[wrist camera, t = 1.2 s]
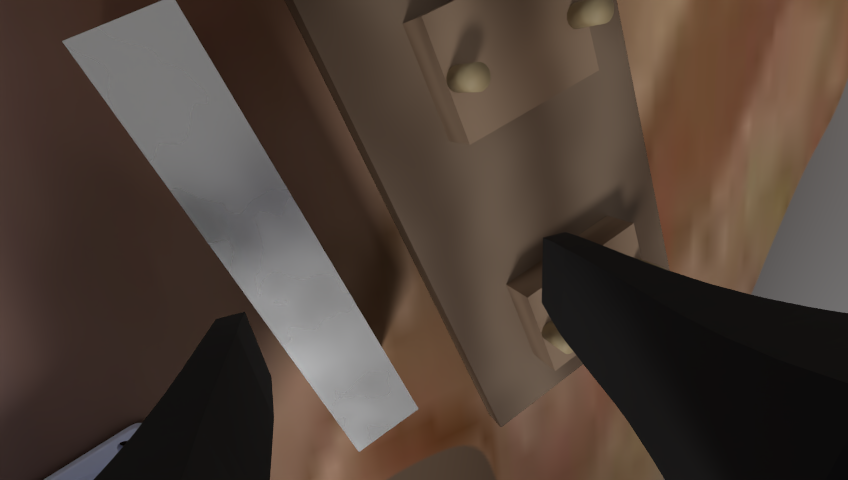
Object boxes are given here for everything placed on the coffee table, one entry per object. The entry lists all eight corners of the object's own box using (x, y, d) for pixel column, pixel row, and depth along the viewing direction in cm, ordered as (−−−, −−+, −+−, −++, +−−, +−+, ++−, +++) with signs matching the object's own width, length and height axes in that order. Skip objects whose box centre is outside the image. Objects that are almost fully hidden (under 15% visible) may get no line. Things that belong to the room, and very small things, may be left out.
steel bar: (378, 350, 23) (418, 408, 19) (329, 383, 22) (358, 451, 18) (181, 23, 16) (173, -5, 12) (102, 57, 15) (62, 41, 11)
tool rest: (489, 414, 27) (537, 468, 23) (276, -18, 17) (297, -53, 13) (657, 286, 30) (724, 314, 26) (566, -140, 20) (654, -199, 16)
